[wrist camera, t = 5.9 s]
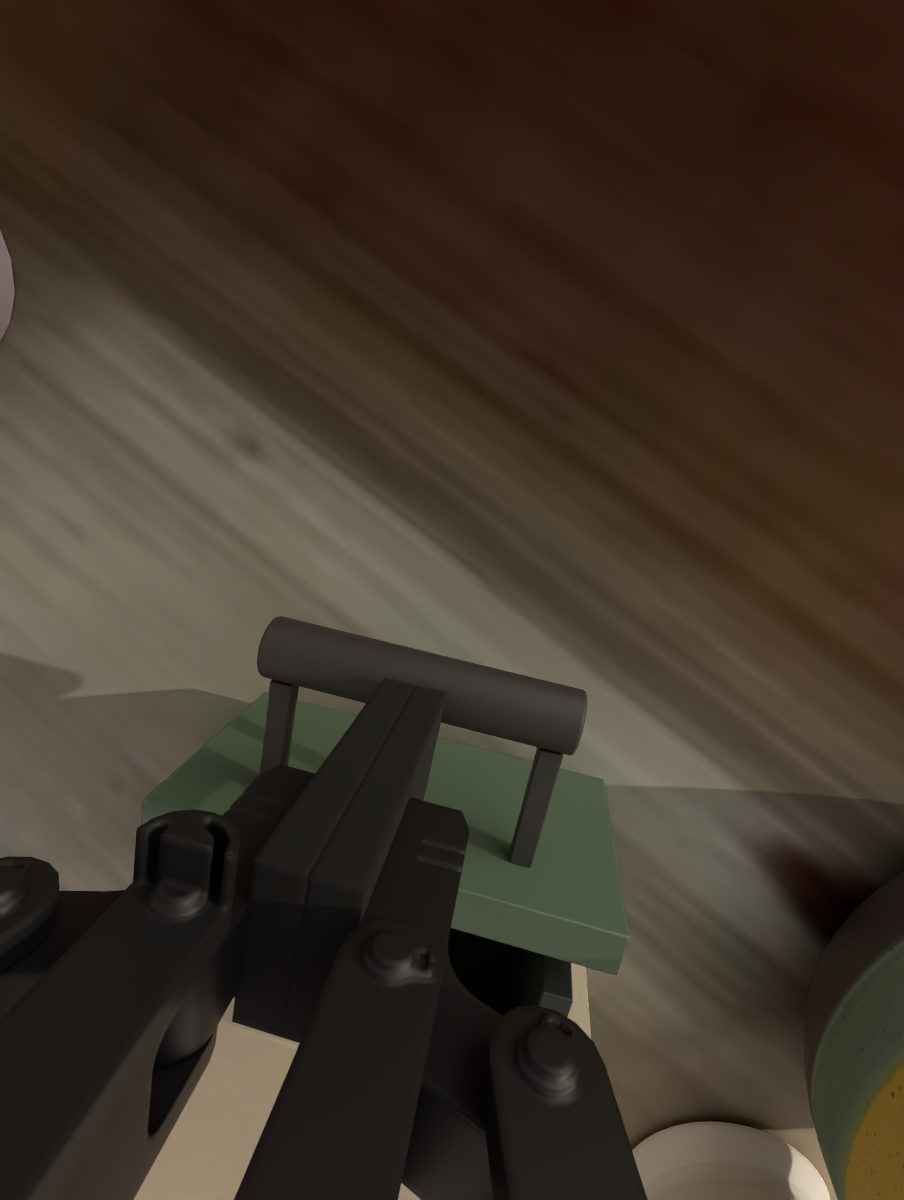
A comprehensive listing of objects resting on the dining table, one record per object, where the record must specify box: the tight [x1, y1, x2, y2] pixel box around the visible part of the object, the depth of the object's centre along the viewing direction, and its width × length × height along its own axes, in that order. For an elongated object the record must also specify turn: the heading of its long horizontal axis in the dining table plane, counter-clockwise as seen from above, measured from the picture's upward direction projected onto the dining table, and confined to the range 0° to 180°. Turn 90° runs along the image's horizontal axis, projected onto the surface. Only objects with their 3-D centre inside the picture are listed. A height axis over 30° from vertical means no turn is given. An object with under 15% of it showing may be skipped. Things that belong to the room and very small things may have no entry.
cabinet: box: [134, 963, 591, 1200], centre depth 21 cm, size 16×14×9 cm
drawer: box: [142, 616, 630, 1017], centre depth 19 cm, size 20×12×7 cm, turn 169°
